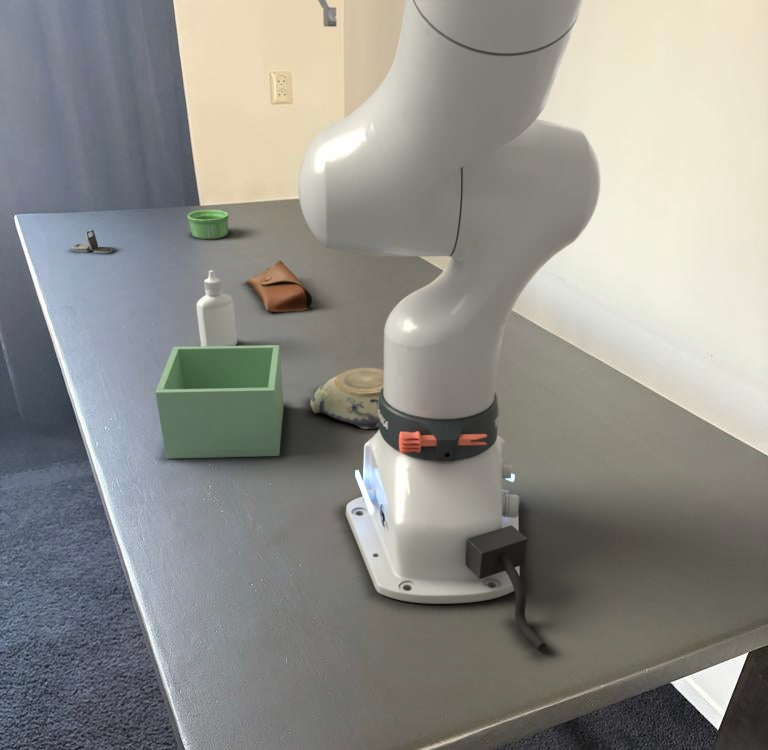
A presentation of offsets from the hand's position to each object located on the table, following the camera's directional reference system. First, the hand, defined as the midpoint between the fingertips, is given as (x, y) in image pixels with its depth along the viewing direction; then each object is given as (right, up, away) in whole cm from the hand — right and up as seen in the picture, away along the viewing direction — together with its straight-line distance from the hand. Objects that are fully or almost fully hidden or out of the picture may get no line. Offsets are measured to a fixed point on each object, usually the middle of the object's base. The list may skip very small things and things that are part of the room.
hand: (371, 26), depth 90 cm
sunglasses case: (-18, -16, +55) cm, 60 cm away
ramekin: (-38, +7, +89) cm, 97 cm away
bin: (-19, -45, +12) cm, 50 cm away
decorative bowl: (-1, -40, +19) cm, 45 cm away
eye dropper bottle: (-24, -29, +35) cm, 52 cm away
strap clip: (-60, 0, +78) cm, 98 cm away
